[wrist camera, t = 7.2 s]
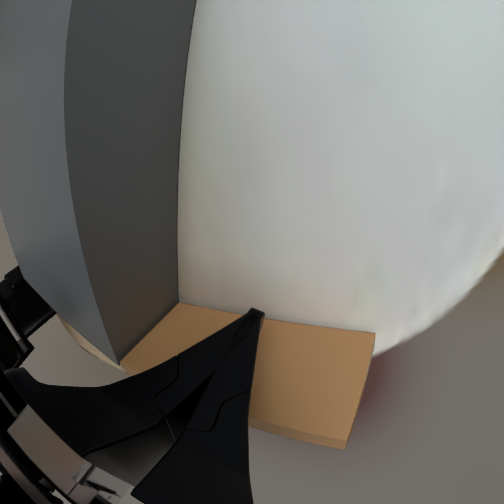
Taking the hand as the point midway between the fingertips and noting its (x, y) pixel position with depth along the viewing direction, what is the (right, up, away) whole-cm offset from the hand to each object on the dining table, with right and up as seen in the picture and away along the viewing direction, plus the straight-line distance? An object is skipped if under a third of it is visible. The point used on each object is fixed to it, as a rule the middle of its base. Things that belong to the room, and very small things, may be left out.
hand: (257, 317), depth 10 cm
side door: (0, -1, +3) cm, 4 cm away
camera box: (-7, +9, +1) cm, 12 cm away
